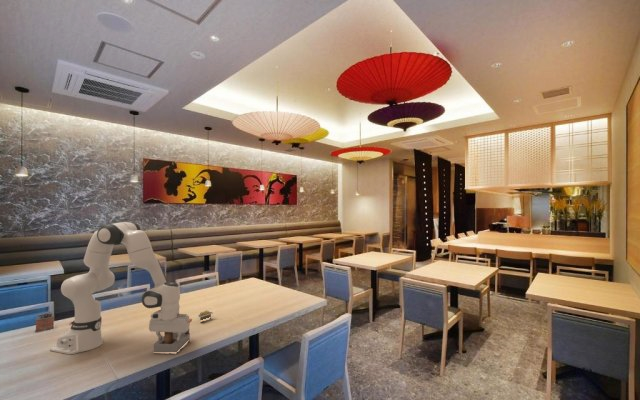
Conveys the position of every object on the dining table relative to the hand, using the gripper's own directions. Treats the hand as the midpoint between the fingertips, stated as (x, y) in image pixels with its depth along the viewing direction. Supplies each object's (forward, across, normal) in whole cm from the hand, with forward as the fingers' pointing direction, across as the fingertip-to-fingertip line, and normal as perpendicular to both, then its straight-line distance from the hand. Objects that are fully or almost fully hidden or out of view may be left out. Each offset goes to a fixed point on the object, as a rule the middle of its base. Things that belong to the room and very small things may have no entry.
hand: (168, 340), depth 151 cm
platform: (+6, -1, -41) cm, 41 cm away
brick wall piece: (+6, +87, -18) cm, 89 cm away
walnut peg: (+6, 0, 0) cm, 6 cm away
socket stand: (+6, 0, -4) cm, 7 cm away
